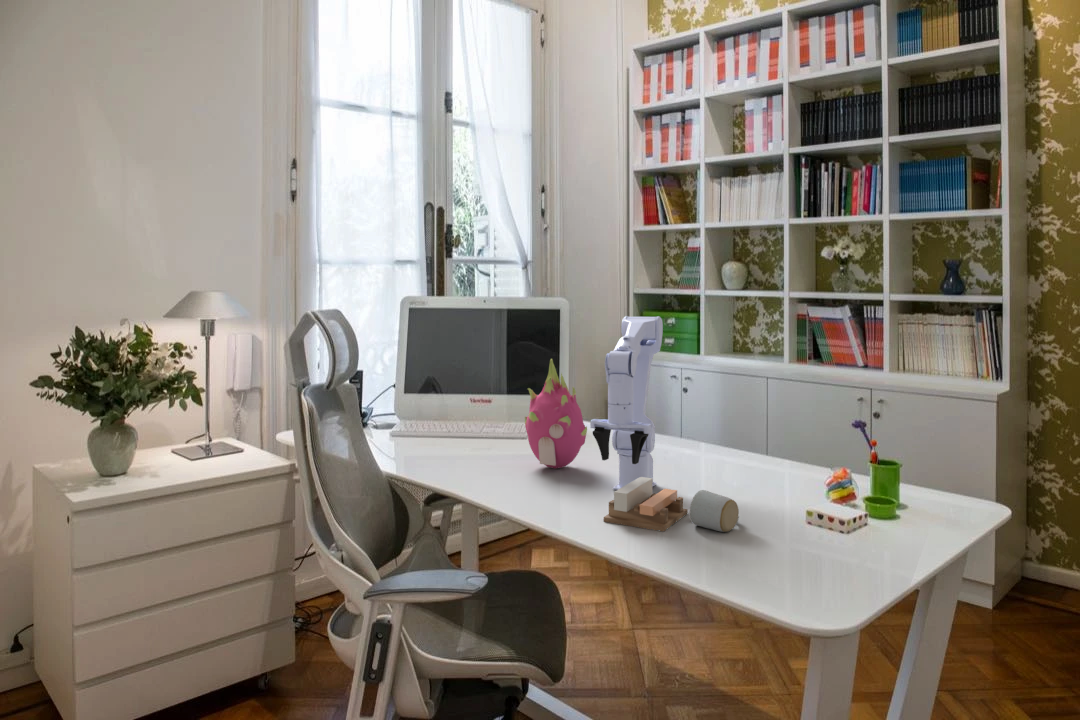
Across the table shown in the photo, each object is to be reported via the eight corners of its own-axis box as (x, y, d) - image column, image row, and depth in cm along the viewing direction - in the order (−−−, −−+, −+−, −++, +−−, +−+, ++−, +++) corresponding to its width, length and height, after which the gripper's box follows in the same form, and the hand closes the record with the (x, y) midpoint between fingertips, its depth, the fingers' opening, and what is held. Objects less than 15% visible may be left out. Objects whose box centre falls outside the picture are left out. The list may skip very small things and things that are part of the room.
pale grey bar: (640, 493, 187) (640, 476, 187) (652, 495, 186) (652, 478, 185) (614, 509, 175) (614, 491, 175) (626, 511, 174) (626, 493, 173)
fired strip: (664, 497, 184) (664, 488, 184) (677, 498, 183) (677, 490, 183) (639, 513, 172) (639, 504, 172) (652, 516, 171) (652, 506, 171)
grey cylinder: (722, 537, 166) (723, 500, 165) (688, 528, 172) (689, 493, 171) (748, 525, 174) (749, 490, 173) (714, 517, 180) (715, 483, 179)
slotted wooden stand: (630, 504, 189) (630, 487, 189) (687, 513, 182) (687, 496, 181) (603, 521, 177) (603, 503, 177) (663, 531, 170) (663, 513, 170)
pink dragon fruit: (516, 471, 220) (514, 361, 216) (532, 460, 232) (531, 356, 229) (579, 476, 214) (579, 363, 210) (593, 464, 227) (592, 357, 223)
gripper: (584, 403, 186) (584, 461, 188) (642, 408, 179) (642, 468, 180) (598, 399, 192) (598, 455, 194) (655, 403, 185) (654, 462, 186)
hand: (620, 461), depth 188 cm, fingers open, 7 cm apart
